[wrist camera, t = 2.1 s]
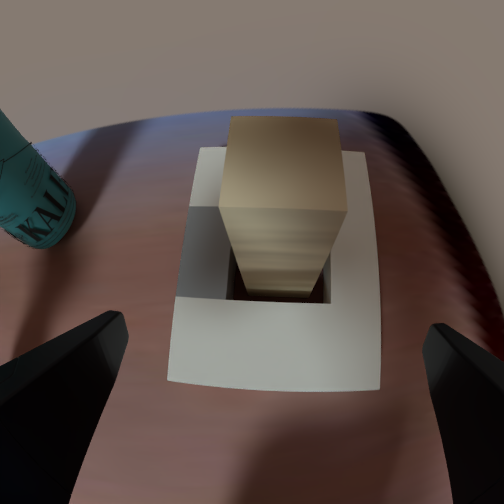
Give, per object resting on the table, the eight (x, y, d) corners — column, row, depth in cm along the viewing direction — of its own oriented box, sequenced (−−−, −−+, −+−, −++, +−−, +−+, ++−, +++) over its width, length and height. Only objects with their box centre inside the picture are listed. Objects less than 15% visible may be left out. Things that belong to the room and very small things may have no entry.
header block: (365, 387, 18) (379, 389, 15) (181, 379, 19) (167, 380, 16) (356, 175, 24) (364, 152, 21) (207, 170, 25) (200, 147, 22)
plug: (308, 297, 20) (347, 211, 9) (248, 295, 21) (218, 207, 10) (308, 242, 22) (337, 119, 11) (252, 240, 22) (231, 116, 11)
